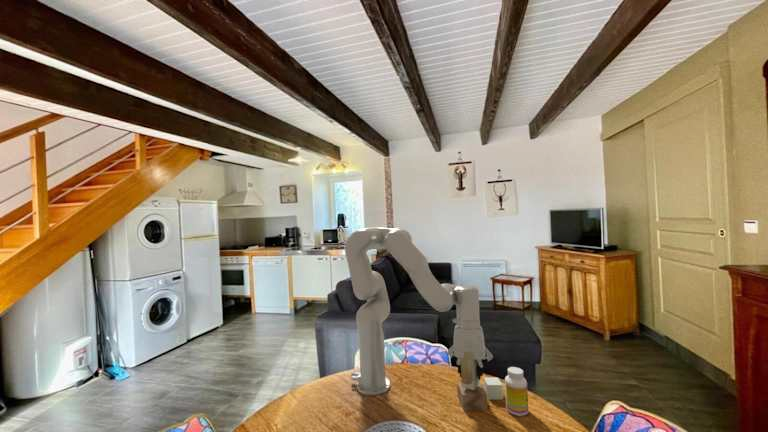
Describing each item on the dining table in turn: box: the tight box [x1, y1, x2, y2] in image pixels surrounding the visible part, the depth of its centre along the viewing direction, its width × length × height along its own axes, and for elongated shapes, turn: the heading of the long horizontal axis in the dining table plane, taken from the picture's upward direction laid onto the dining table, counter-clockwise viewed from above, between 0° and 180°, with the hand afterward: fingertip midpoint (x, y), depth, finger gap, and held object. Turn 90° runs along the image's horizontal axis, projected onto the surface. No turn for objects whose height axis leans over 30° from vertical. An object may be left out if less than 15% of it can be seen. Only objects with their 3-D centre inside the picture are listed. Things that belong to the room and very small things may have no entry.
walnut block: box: [456, 381, 489, 411], centre depth 104 cm, size 8×8×5 cm
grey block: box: [483, 376, 504, 401], centre depth 108 cm, size 5×5×5 cm
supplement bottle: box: [504, 366, 529, 417], centre depth 99 cm, size 7×7×13 cm
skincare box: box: [460, 352, 481, 390], centre depth 104 cm, size 6×4×12 cm
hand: (470, 375), depth 104 cm, fingers closed on skincare box, 5 cm apart
